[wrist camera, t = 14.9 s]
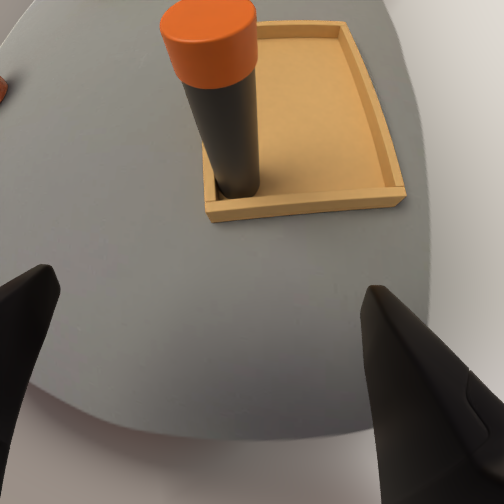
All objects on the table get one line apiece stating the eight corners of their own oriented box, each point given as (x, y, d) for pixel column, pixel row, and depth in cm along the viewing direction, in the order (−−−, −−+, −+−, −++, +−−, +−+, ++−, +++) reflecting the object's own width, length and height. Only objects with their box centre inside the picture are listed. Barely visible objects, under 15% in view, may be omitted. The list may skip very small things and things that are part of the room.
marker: (263, 201, 18) (261, 35, 6) (218, 206, 18) (154, 50, 6) (259, 160, 19) (251, -14, 7) (215, 165, 19) (163, -1, 7)
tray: (394, 207, 18) (407, 196, 16) (211, 223, 18) (205, 212, 16) (341, 38, 21) (345, 21, 19) (204, 45, 21) (201, 27, 19)
